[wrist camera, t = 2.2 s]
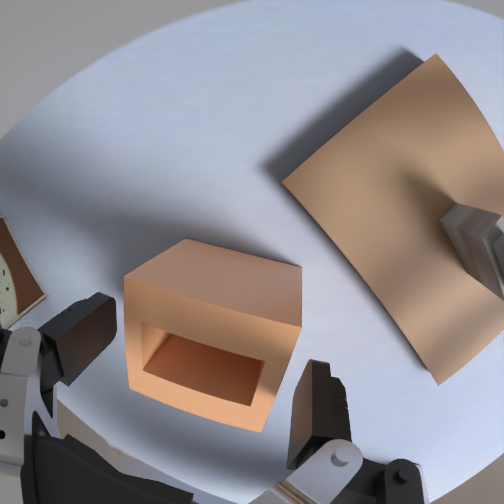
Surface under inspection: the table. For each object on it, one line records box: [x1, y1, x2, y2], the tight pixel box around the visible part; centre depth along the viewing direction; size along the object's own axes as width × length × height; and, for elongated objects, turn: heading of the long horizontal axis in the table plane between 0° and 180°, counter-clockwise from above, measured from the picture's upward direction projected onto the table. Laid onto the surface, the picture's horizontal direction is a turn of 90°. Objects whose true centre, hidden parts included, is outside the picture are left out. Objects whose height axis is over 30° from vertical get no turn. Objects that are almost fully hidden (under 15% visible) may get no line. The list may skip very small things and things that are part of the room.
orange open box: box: [124, 238, 302, 433], centre depth 13 cm, size 6×6×6 cm
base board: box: [282, 54, 504, 386], centre depth 9 cm, size 16×11×6 cm
